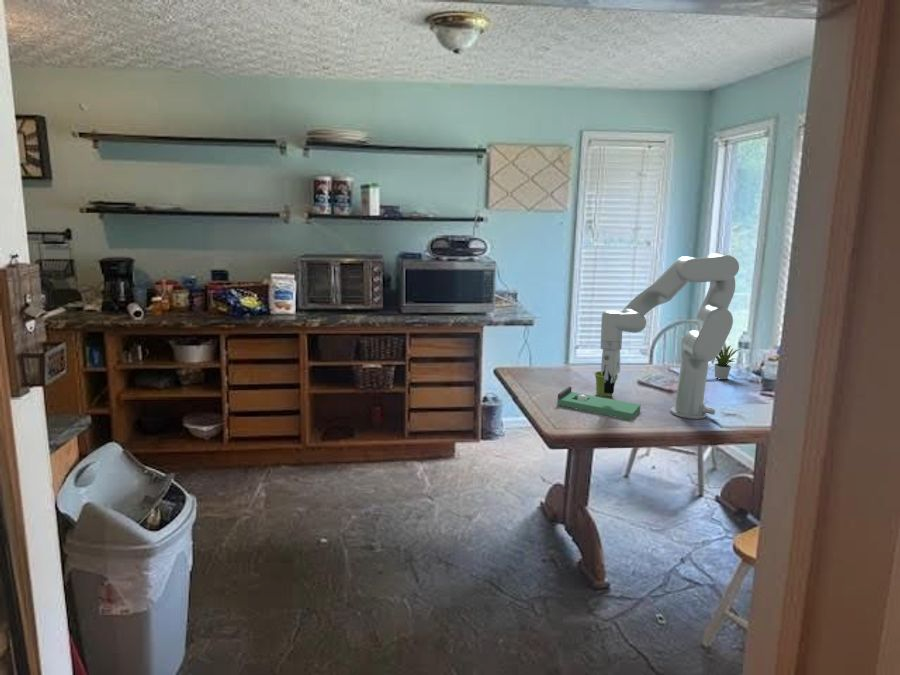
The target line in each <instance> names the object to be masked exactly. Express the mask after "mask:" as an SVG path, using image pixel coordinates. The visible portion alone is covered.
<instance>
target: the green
mask: <svg viewBox="0 0 900 675" xmlns="http://www.w3.org/2000/svg"><path fill="white" fill-rule="evenodd" d="M579 395H585V396H586V397H587V399H588V400H587V401H586V402H585V401H580V400H577V397H578V396H579ZM556 405H557V406H558V405H561V406H560V407H563V406H567V407H566V408H568V407H571V408H570V409H573V408H577V409H576V410H578V409H581V410H580V411H584V410H586V411H585V412H589V411H590V412H589V413H594V412H596V413H595V414H599V413H600V414H599V415H604V414H606V415H605V416H609V415H611V416H610V417H614V416H616V417H615V418H619V417H621V418H620V419H624V418H626V419H625V420H629V419H631V420H630V421H633V419H635V417H636V416H637V413H638V414H639V413H640V411H641V404H638V403H633V402H629V401H622V400H619V399H618V400H617V399H611V398H608V397H603V396H595V395H591V394H590V395H589V394H585V393H579V392H573V391H572V386H568V387H566V388H565V389H563V390H562V391H560V392H559V393H558V394H557V401H556Z"/></svg>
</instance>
